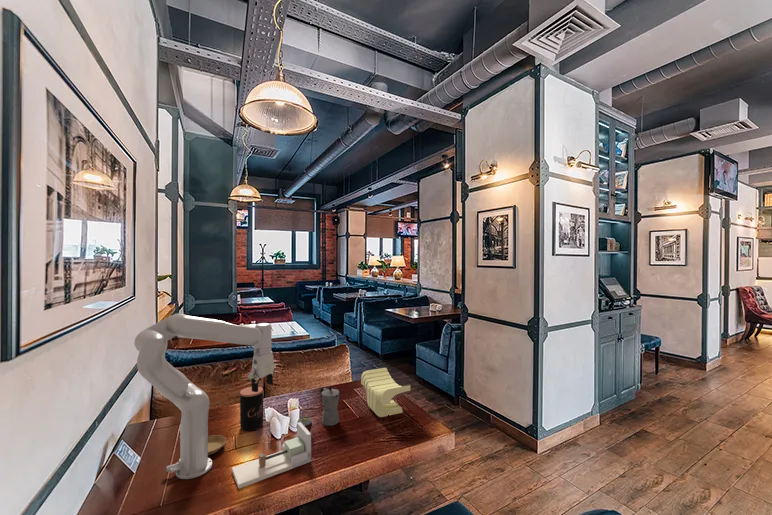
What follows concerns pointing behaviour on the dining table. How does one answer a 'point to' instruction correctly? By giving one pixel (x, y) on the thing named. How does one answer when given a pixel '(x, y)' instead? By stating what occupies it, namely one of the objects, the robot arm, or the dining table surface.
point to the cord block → (285, 450)
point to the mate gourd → (306, 422)
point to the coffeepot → (330, 406)
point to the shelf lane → (273, 462)
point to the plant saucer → (215, 443)
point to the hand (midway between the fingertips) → (262, 387)
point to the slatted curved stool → (382, 391)
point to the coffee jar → (251, 409)
